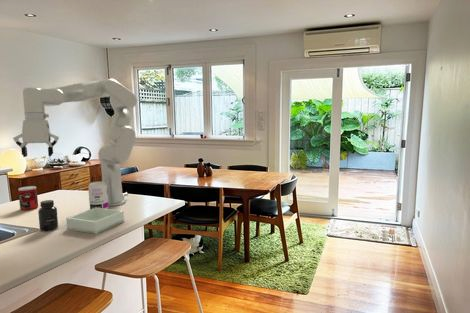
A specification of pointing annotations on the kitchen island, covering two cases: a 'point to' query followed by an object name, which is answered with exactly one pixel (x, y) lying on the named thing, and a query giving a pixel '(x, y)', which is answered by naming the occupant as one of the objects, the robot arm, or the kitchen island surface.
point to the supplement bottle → (48, 216)
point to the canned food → (28, 198)
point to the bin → (95, 220)
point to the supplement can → (98, 195)
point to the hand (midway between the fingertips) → (37, 156)
